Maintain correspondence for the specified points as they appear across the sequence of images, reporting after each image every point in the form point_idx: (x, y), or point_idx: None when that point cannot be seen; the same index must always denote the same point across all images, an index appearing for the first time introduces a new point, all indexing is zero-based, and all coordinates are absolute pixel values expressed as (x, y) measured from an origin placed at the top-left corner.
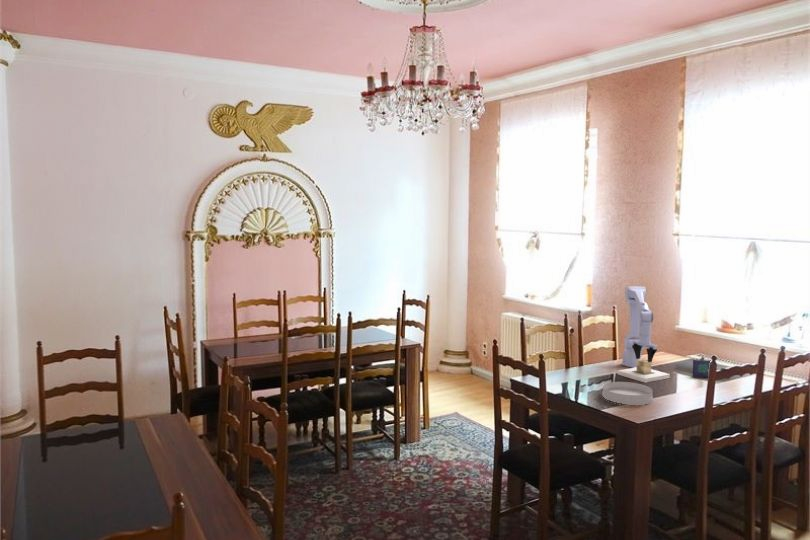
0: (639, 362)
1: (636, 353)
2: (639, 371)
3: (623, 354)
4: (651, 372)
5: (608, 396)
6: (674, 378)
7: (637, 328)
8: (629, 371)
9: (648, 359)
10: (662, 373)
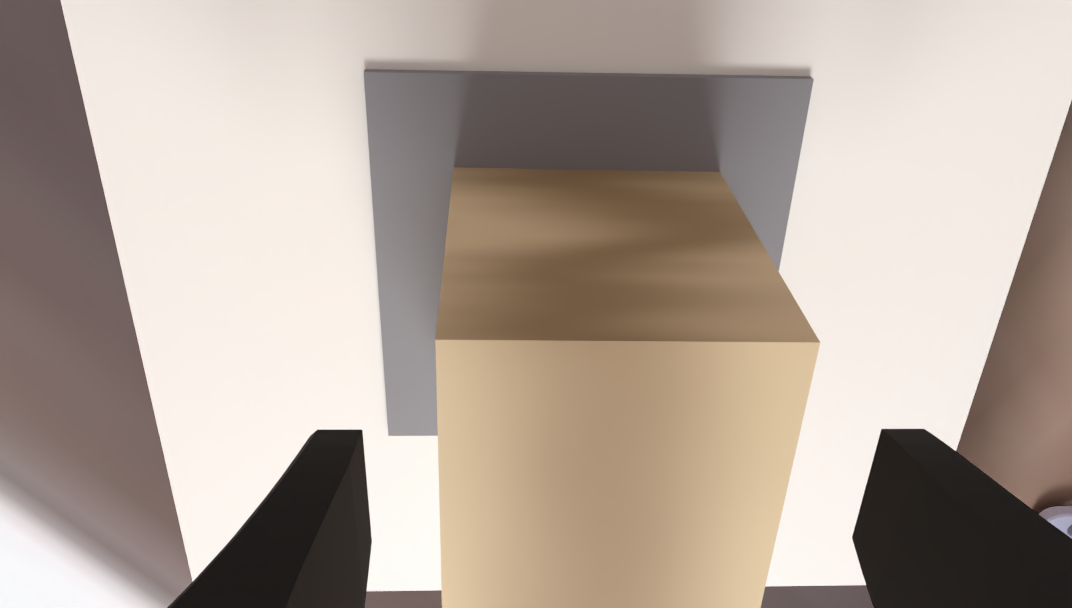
0: (681, 309)
1: (1009, 567)
2: (620, 176)
3: None
4: None
5: None
6: (162, 575)
7: None
8: (860, 23)
9: (297, 482)
10: None
